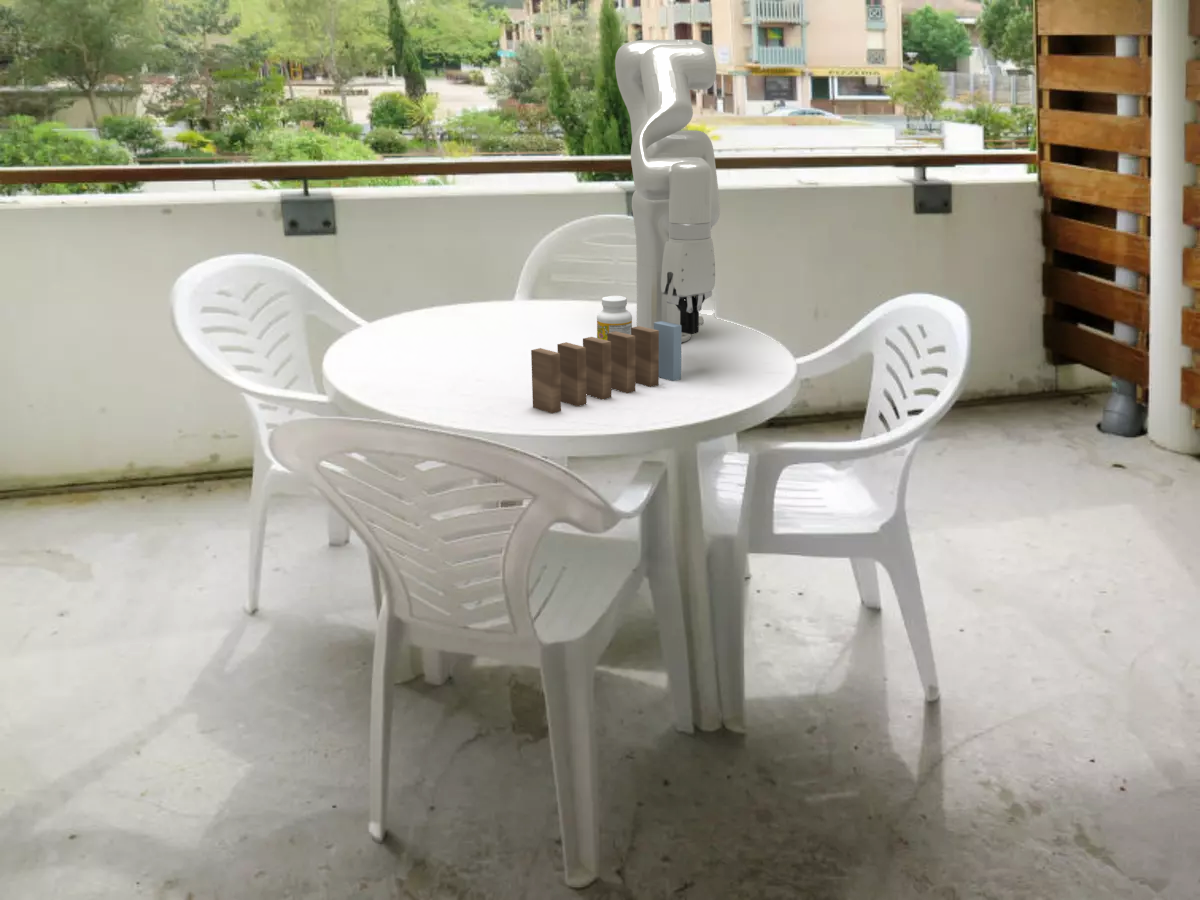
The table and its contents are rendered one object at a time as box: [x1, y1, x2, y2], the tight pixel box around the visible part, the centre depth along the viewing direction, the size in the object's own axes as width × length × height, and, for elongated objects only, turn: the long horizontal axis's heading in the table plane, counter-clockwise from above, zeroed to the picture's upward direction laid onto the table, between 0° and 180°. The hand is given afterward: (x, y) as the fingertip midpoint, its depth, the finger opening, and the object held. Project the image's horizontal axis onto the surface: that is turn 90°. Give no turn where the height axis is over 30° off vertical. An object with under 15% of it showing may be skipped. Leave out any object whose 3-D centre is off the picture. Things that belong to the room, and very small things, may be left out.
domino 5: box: [631, 325, 660, 388], centre depth 232 cm, size 2×5×10 cm, turn 42°
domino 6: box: [654, 321, 682, 382], centre depth 236 cm, size 2×5×10 cm, turn 43°
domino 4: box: [607, 331, 636, 394], centre depth 229 cm, size 2×5×10 cm, turn 42°
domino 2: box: [557, 342, 588, 407], centre depth 221 cm, size 2×5×10 cm, turn 42°
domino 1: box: [530, 347, 562, 414], centre depth 217 cm, size 2×5×10 cm, turn 42°
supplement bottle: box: [596, 295, 633, 340], centre depth 245 cm, size 7×7×13 cm
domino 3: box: [582, 336, 612, 400], centre depth 225 cm, size 2×5×10 cm, turn 42°
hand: (689, 332), depth 238 cm, fingers closed
